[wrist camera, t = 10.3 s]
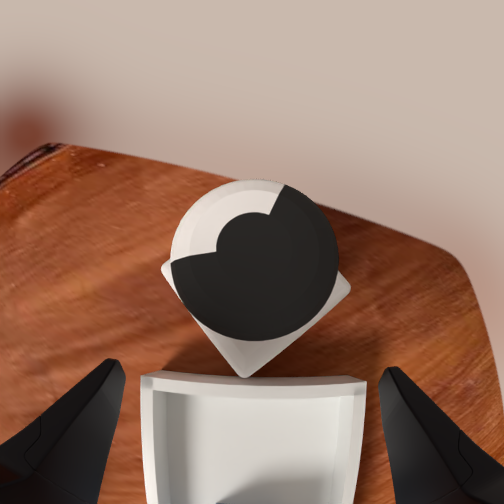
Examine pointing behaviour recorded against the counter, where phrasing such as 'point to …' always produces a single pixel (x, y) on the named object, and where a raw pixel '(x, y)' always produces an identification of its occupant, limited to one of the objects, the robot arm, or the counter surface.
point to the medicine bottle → (255, 269)
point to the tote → (251, 438)
